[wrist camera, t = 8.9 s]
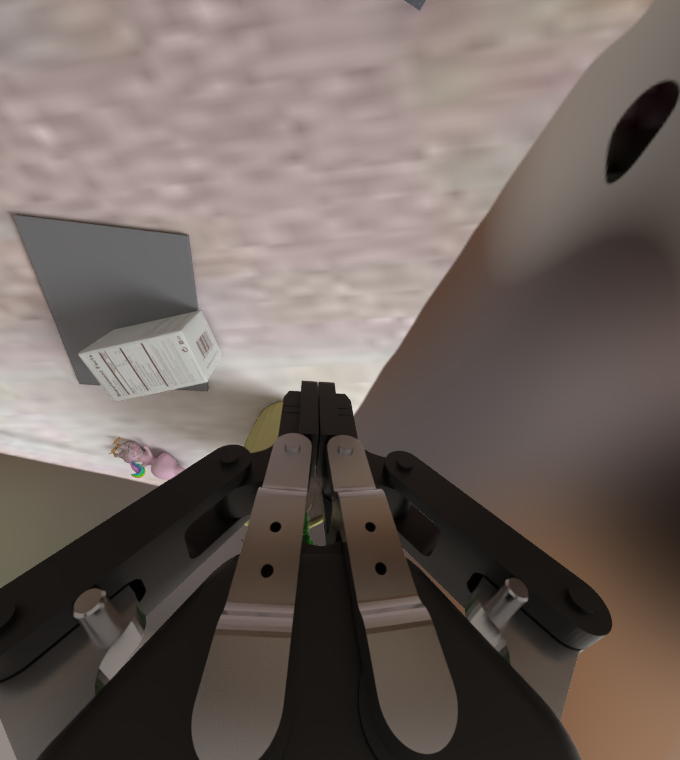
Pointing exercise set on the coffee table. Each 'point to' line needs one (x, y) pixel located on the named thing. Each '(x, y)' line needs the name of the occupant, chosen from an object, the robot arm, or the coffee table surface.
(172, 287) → the mat
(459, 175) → the coffee table surface
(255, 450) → the potted cactus
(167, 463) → the pink unicorn figurine
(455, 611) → the robot arm
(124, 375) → the supplement box
